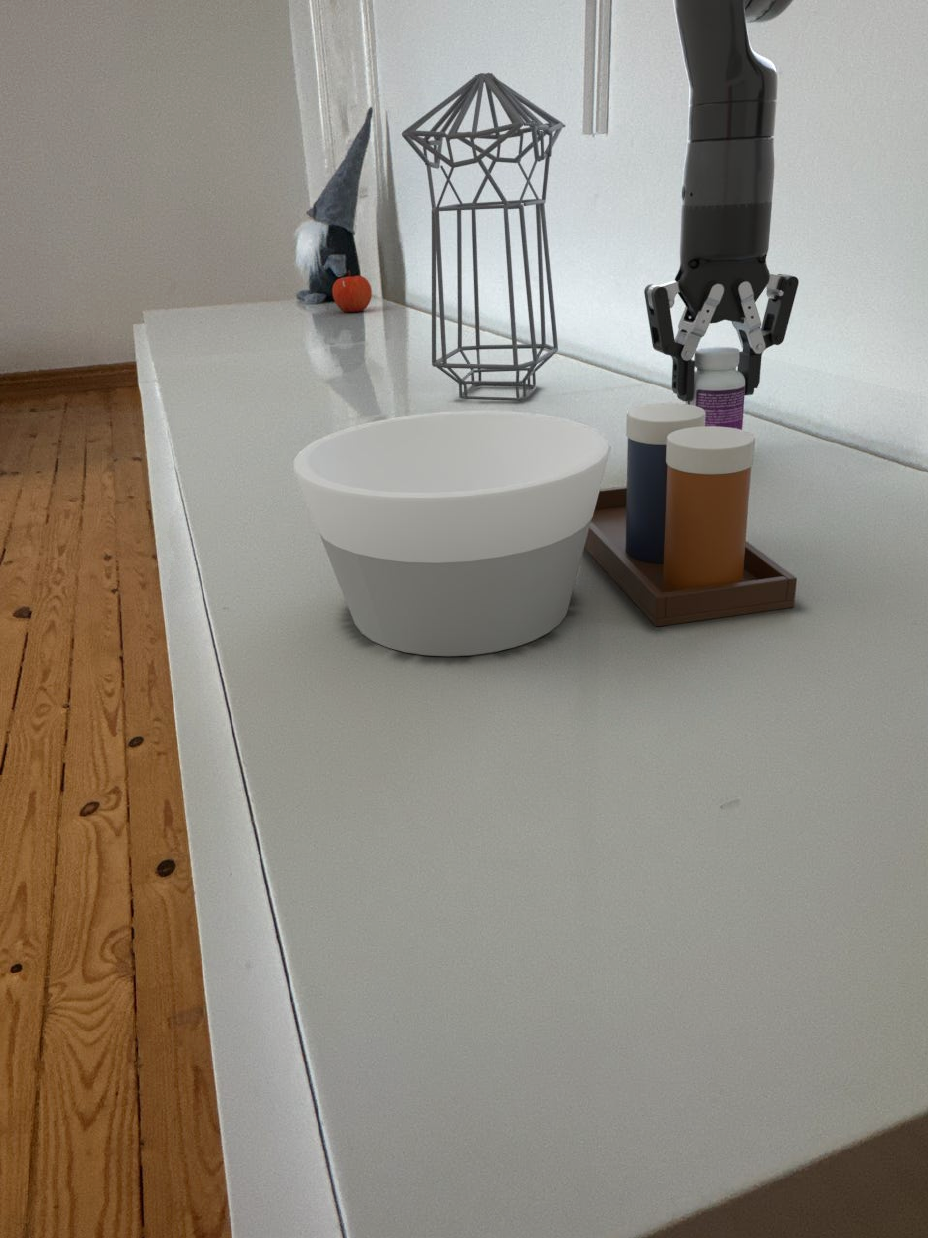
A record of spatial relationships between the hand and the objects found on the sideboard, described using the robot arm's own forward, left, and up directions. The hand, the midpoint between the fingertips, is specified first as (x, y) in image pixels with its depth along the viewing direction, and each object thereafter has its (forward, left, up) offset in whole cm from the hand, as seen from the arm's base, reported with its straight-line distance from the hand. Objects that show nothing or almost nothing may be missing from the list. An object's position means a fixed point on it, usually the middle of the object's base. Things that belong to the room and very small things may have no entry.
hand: (715, 395), depth 90 cm
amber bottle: (+14, +30, -5) cm, 34 cm away
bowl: (+30, +27, -6) cm, 41 cm away
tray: (+14, +23, -5) cm, 28 cm away
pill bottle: (0, 0, -6) cm, 6 cm away
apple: (+22, -122, -6) cm, 124 cm away
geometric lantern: (+13, -34, -6) cm, 37 cm away
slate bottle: (+14, +23, -5) cm, 28 cm away
